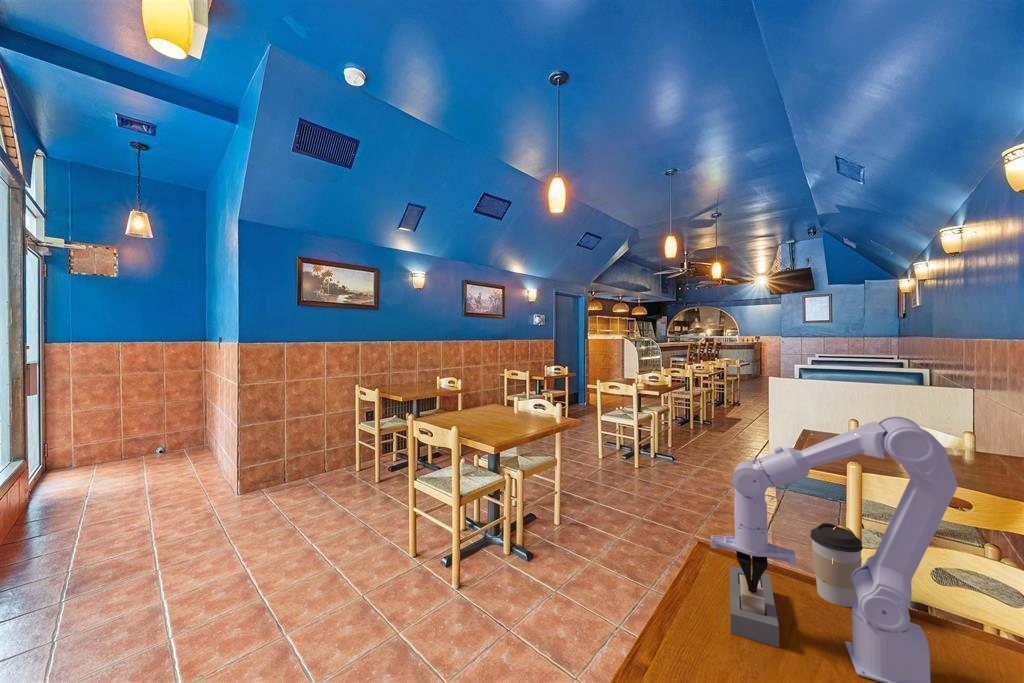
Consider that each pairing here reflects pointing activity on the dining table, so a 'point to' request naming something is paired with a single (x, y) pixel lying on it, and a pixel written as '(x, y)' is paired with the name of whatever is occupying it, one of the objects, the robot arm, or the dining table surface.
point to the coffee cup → (835, 563)
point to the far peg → (743, 580)
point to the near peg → (752, 600)
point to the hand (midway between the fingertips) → (752, 589)
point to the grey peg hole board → (749, 622)
